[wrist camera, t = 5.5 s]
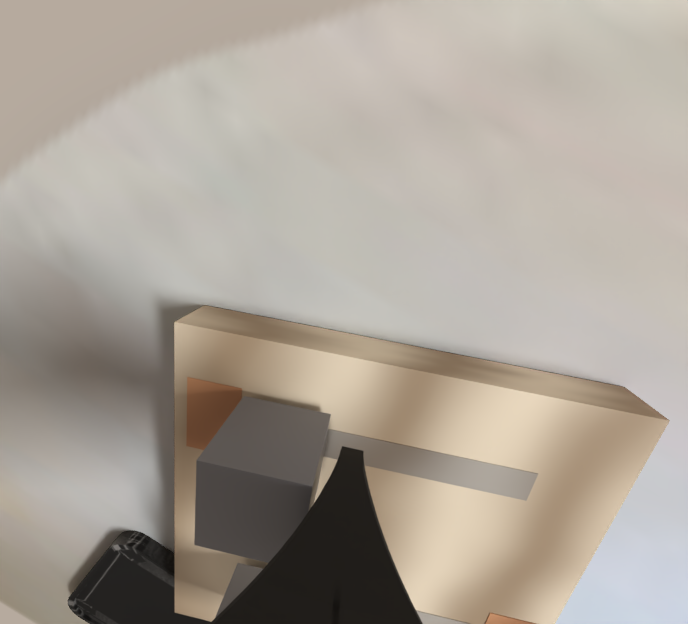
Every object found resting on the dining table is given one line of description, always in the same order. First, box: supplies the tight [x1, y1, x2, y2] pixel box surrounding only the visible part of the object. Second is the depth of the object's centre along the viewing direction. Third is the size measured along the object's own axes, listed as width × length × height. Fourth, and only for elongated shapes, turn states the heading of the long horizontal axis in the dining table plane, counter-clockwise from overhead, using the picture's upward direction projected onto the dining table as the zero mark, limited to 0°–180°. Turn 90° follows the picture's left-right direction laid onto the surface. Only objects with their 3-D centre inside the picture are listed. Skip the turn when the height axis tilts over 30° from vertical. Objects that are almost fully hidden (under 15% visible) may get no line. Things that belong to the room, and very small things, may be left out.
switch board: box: [174, 305, 669, 624], centre depth 14 cm, size 16×15×2 cm
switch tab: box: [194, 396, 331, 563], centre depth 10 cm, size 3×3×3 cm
